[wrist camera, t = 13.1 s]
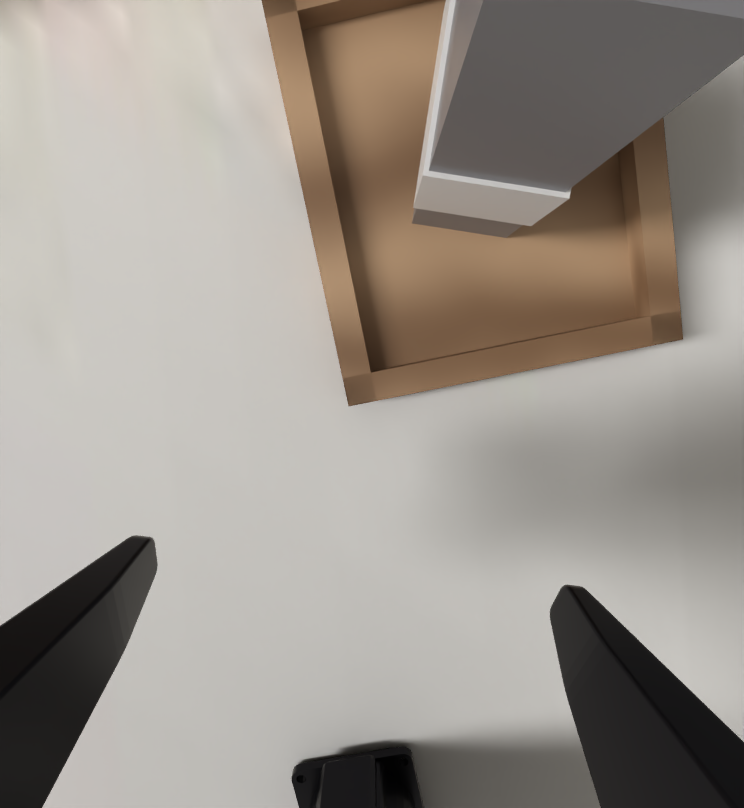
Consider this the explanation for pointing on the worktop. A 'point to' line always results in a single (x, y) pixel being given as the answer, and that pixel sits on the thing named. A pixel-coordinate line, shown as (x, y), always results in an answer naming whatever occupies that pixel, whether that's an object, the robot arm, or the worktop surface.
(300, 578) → the worktop surface
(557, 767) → the worktop surface
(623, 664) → the robot arm
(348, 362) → the tray
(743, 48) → the scroll on gray panel
